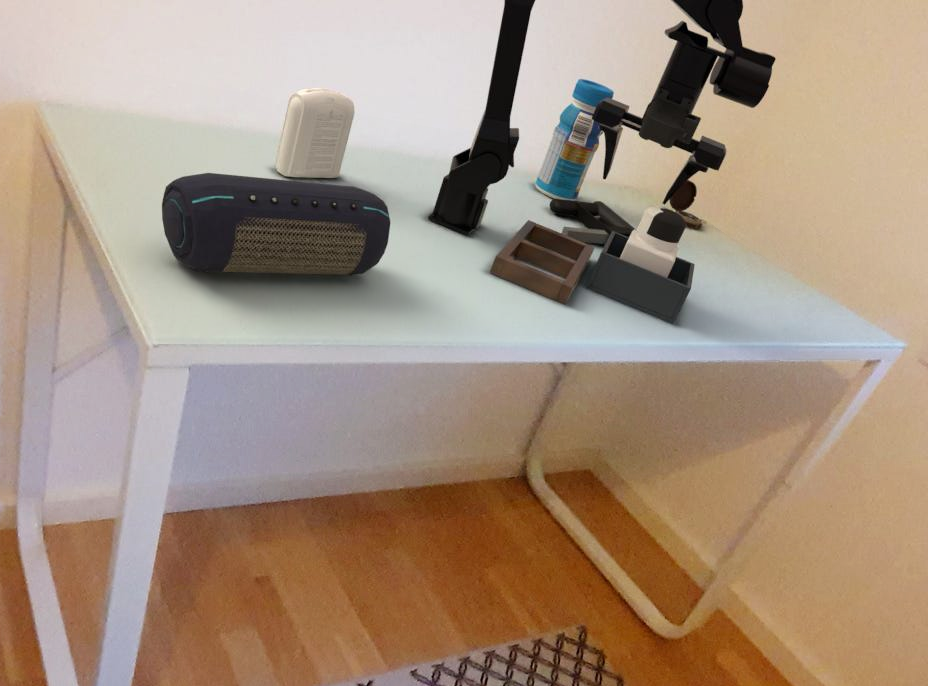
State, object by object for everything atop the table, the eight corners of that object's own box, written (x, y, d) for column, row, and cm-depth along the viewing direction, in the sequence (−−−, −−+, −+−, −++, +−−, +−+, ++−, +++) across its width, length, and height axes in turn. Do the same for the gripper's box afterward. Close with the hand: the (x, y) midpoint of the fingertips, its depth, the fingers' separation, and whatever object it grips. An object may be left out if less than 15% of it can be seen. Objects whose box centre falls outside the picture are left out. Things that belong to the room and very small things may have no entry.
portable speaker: (177, 289, 84) (192, 194, 79) (147, 243, 91) (159, 153, 86) (390, 291, 99) (414, 212, 94) (352, 252, 106) (372, 175, 101)
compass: (684, 228, 165) (700, 192, 161) (660, 211, 171) (676, 176, 167) (713, 232, 169) (730, 198, 165) (689, 215, 175) (705, 182, 171)
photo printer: (325, 168, 129) (344, 86, 123) (342, 180, 127) (363, 97, 121) (269, 167, 122) (286, 81, 116) (286, 180, 120) (305, 92, 114)
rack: (489, 272, 114) (495, 256, 113) (522, 234, 132) (528, 219, 130) (565, 304, 113) (572, 288, 111) (588, 261, 130) (595, 247, 129)
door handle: (588, 242, 130) (670, 249, 137) (531, 191, 145) (608, 199, 152) (581, 262, 132) (662, 268, 139) (525, 209, 146) (602, 217, 153)
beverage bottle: (524, 183, 156) (564, 74, 146) (552, 184, 162) (592, 78, 152) (557, 203, 152) (600, 92, 142) (585, 203, 158) (628, 96, 148)
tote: (585, 287, 120) (601, 252, 118) (597, 263, 131) (612, 230, 128) (673, 324, 119) (691, 288, 116) (678, 297, 129) (694, 263, 127)
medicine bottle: (658, 290, 127) (694, 216, 121) (654, 305, 121) (691, 227, 115) (614, 271, 128) (647, 197, 122) (607, 285, 122) (642, 207, 116)
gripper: (609, 61, 109) (563, 176, 116) (747, 115, 106) (691, 229, 114) (621, 55, 118) (577, 162, 126) (747, 106, 116) (695, 211, 124)
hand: (633, 191), depth 122 cm, fingers open, 9 cm apart
